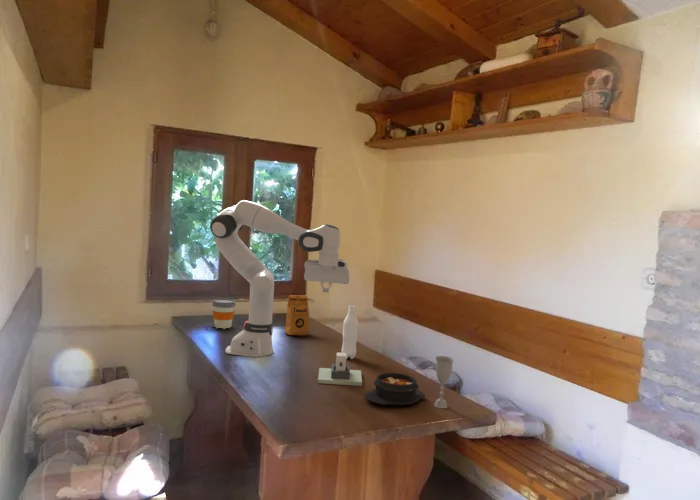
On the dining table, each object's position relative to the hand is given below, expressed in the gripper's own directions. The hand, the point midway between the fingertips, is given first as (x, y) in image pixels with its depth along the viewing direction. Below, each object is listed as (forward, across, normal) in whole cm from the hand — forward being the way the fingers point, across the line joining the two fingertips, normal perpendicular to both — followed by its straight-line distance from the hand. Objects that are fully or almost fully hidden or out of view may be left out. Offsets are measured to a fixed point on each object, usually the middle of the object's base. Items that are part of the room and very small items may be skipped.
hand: (325, 292), depth 241 cm
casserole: (+33, +30, -39) cm, 59 cm away
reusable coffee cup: (+35, -57, +61) cm, 90 cm away
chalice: (+33, +47, -42) cm, 71 cm away
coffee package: (+34, -15, +55) cm, 67 cm away
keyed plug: (+32, +9, -18) cm, 37 cm away
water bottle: (+33, +13, +15) cm, 39 cm away
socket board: (+33, +9, -17) cm, 38 cm away
